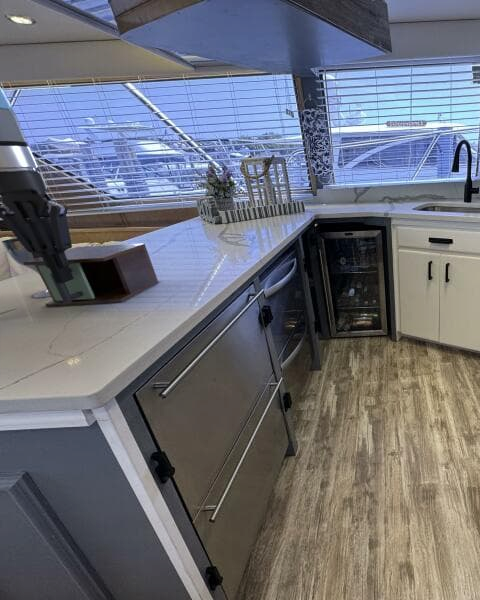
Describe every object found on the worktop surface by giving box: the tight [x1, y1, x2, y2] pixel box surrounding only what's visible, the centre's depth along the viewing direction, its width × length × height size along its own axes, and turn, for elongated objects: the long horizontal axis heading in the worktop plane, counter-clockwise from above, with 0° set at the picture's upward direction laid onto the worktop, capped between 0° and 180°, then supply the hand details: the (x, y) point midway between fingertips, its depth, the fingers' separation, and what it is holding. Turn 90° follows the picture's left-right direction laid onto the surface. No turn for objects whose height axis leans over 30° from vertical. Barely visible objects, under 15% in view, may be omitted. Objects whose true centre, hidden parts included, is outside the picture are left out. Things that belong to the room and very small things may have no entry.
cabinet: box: [23, 243, 159, 308], centre depth 84 cm, size 18×15×11 cm
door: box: [38, 262, 95, 303], centre depth 76 cm, size 9×5×9 cm, turn 94°
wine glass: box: [1, 237, 51, 299], centre depth 85 cm, size 8×8×15 cm
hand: (65, 280), depth 74 cm, fingers closed
